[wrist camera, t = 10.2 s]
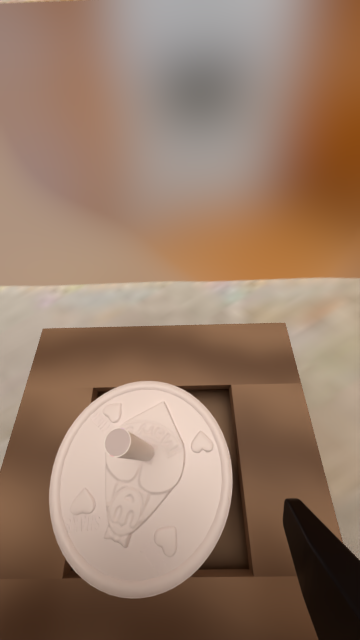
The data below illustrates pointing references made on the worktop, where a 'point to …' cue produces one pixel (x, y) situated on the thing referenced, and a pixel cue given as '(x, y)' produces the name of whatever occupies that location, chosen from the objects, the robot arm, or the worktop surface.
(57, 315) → the worktop surface
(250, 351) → the walnut box
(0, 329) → the worktop surface
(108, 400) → the smoothie
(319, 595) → the robot arm
